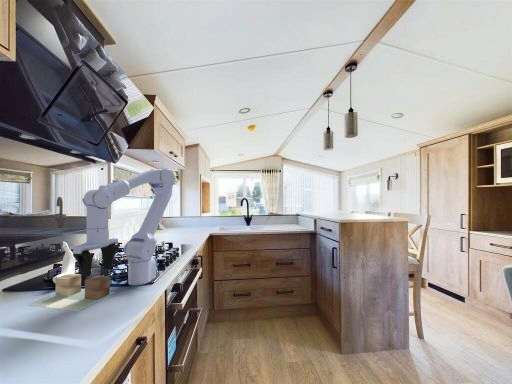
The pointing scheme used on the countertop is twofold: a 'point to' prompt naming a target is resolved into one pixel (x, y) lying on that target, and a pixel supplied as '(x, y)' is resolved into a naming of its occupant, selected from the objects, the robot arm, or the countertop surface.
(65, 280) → the oak block
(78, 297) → the board
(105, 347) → the countertop surface
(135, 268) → the robot arm
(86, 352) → the countertop surface
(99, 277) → the walnut block
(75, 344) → the countertop surface
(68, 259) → the white curved piece
